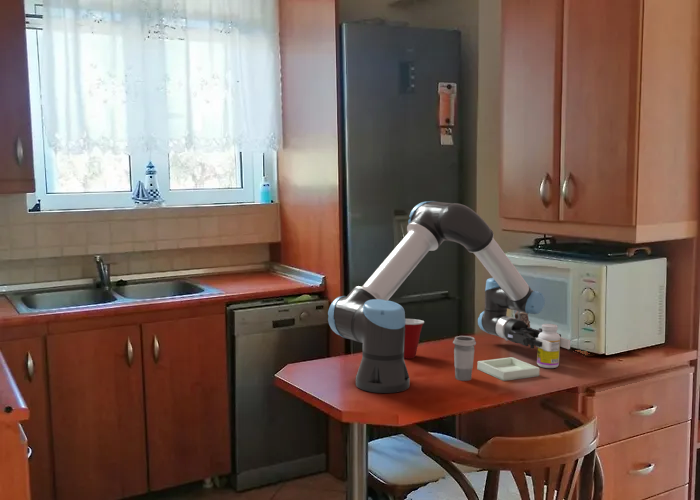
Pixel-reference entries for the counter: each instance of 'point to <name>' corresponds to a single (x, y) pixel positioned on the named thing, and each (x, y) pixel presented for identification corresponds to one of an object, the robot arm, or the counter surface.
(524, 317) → the figurine
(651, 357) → the counter surface
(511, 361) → the tray
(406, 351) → the plastic cup
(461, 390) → the counter surface
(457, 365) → the cup
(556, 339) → the supplement bottle
